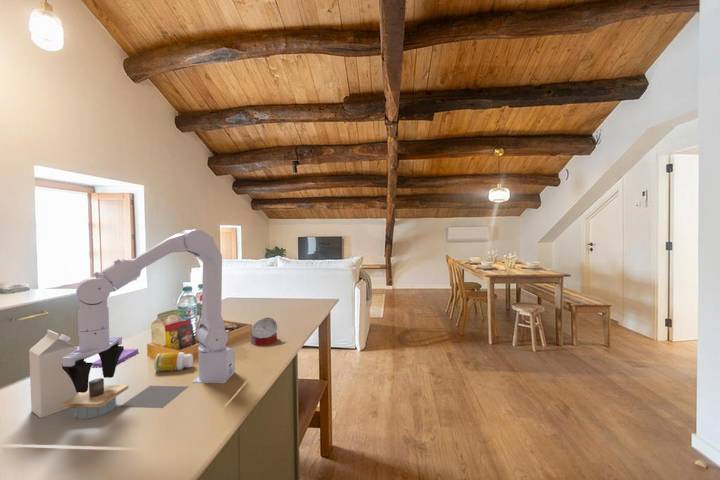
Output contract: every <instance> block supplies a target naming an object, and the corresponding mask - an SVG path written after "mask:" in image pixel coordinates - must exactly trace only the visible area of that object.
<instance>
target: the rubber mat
mask: <svg viewBox="0 0 720 480" xmlns="http://www.w3.org/2000/svg"><path fill="white" fill-rule="evenodd" d="M188 388H189V386H187V385H186V386H183V385H181V386H180V385H148V387H146V388H144V389H143V390H141V391H140V392H139V393H137V394H136V395H134V396H132V397H131V398H130V399H128V400H127V401H126V402H124V403H122V404H121V405H120V406H119V408H151V409H152V408H153V409H154V408H156V409H164V407H166V406H167V405H168V404H169V403H170V402H172V401H173V400H174V399H176V398H177V397H178V396H179V395H180V394H181V393H183V392H184V391H185V390H186V389H188Z"/></svg>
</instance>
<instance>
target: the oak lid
mask: <svg viewBox="0 0 720 480" xmlns="http://www.w3.org/2000/svg"><path fill="white" fill-rule="evenodd" d="M127 390H129V385H128V384H127V385H125V384H117V385H116V384H114V385H112V384H109V385H108V384H105V381H104V377H103V378H102V377H100V378H94V379H91V380H89V381H88V390H87V392H85V393H79V394H77V395H76V396H74V397H72V398H70V399H69V400H67V401H65V402H64V403H62V404H61V407H70V408H75V407H102V406H103V405H105V404H106V403H108V402H109V401H111V400H112V399H113V398H115V397H116V398H117V397H118V396H119V395H121V394H122V393H124V392H125V391H127Z"/></svg>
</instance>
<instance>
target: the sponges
mask: <svg viewBox="0 0 720 480" xmlns="http://www.w3.org/2000/svg"><path fill="white" fill-rule="evenodd" d="M138 353H139V348H131V349H130V348H126V349H125V348H124V350H123V352H122V354H121V355H120V357H119V360H118V362H117V365H119V364H120V363H122V362H123V361H125V360H127V359H129V358H131V357H133V356H134V355H136V354H138ZM92 363H93V364H92V366H91V367H95V368H98V367H101V368H102V363H101V359H100V358H99V359H97V360H95V361H93V362H92Z"/></svg>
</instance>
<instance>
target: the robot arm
mask: <svg viewBox="0 0 720 480" xmlns="http://www.w3.org/2000/svg"><path fill="white" fill-rule="evenodd" d="M185 252H188V253H189V254H192V255H194V256H195V257H196V258H197V259H198V260H200V262H202V286H201V287H202V288H201V289H202V290H201V292H202V298H201V299H202V300H201V302H202V303H201V304H202V305H201V316H200V319H199V323H198V327H197V329H196V331H195V338H196V340H197V341H198V342H199V346H198V348H197V349H198V350H197V351H198V354H197V356H198V376H197V377H196V378H195V379H194V380H192V383H195V384H196V383H197V384H202V383H203V384H205V383H206V384H208V383H209V384H225V383H226V382H227V381H228V380H229V379H231V377H232V376H234V374H235V373H236V368H235V367H236V366H235V365H236V364H235V361H236V359H235V349H233V348H232V347H231V348H230V347H227V346H226V344H227V343H228V341H229V335H228V332H227V330H226V327H225V325H226V324H225V321H224V319H223V316H222V295H223V294H222V291H223V290H222V286H223V285H222V284H223V281H222V280H223V279H222V278H223V256H222V255H223V254H222V253H221V251H220V250H219V247H218V246H217V245H216V243H215V241H214V237H213V236H212V235H210V234H209V233H208V232H206V231H205V230H203V229H184V230H183V231H181V232H179V233H176V234H174V235H173V234H172V236H169V237H168V238H165V239H164V240H161V242H159V243H158V244H156V245H154V246H152V247H151V248H150V249H148V250H146V251H145V252H143V253H141V254H140V255H138V256H137V257H135V258H122V259H119V258H117V259H116V260H114V261H113V263H114V264H111V265H110V266H109V267H107V268H105V269H103V270H101V271H99V272H98V271H95V272H94V273H93V274H92V275H93V276H94V277H88V278H85V279H83V280H82V281H81V282H79V284H78V286H77V288H76V290H75V291H76V295H77V296H78V299H79V300H78V304H77V305H78V311H77V321H78V323H77V325H78V326H77V328H78V343H79V344H78V346H77V347H76V350H75V351H74V352H72V353H71V354H69V355H68V356H66V357H63V364H62V369H63V370H64V371H65V372H66V373H67V374H68V375H69V377H70V378H71V380H72V382H73V384H74V387H75V389H76V392H78V393H85V392H87V390H88V388H89V382H90V380H89V379H90V372H91V368H92V367H93V366H92V364H93V362H86V359H89V358H91V357H93V356H96V355H98V356H99V359H101V363H102V367H101V368H102V369H101V370H102V376H103V379H104V378H108V379H110V378H113V377H114V376H115V373H116V368H117V365H118V364H117V362H118V360H119V357H120V355H121V354H122V352H123V350H124V349H125V347H124V346H122V344H123V337H122V336H113V337H110V317H109V315H110V314H109V313H110V312H109V310H110V309H109V307H108V298H109V297H110V295H111V293H112V292H116V291H118V290H120V289H121V288H123V287H124V286H126V285H128V284H129V283H131V282H133V281H135V280H137V279H138V278H139V277H140V276H141V272H142V270H143V269H145V268H146V267H147V266H150V265H152V264H153V263H156V262H157V261H159V260H161V259H163V258H164V257H167V256H168V255H170V254H172V253H185Z"/></svg>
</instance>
